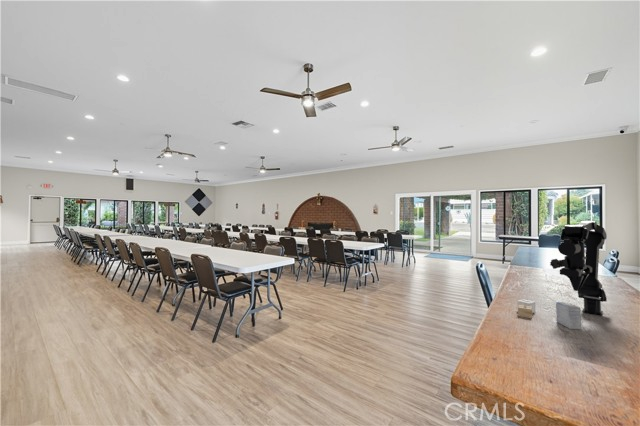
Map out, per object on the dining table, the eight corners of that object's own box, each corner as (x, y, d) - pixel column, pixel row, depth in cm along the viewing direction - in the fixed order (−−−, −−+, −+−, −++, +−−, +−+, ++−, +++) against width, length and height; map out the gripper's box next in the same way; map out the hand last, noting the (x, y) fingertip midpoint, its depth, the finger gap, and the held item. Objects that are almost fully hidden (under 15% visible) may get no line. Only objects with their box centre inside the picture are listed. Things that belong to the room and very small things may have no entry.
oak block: (518, 313, 129) (518, 304, 130) (532, 315, 126) (532, 306, 126) (518, 316, 126) (518, 307, 126) (532, 318, 122) (531, 309, 123)
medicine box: (582, 330, 109) (581, 307, 109) (568, 329, 110) (568, 307, 110) (568, 322, 117) (567, 302, 117) (556, 322, 118) (555, 301, 118)
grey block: (523, 309, 135) (523, 299, 135) (535, 312, 130) (535, 301, 130) (517, 311, 132) (517, 300, 133) (529, 314, 128) (529, 303, 128)
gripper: (560, 251, 132) (561, 283, 131) (544, 253, 122) (545, 289, 121) (591, 253, 123) (593, 288, 122) (577, 256, 113) (579, 294, 112)
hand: (576, 290), depth 120 cm, fingers open, 3 cm apart
